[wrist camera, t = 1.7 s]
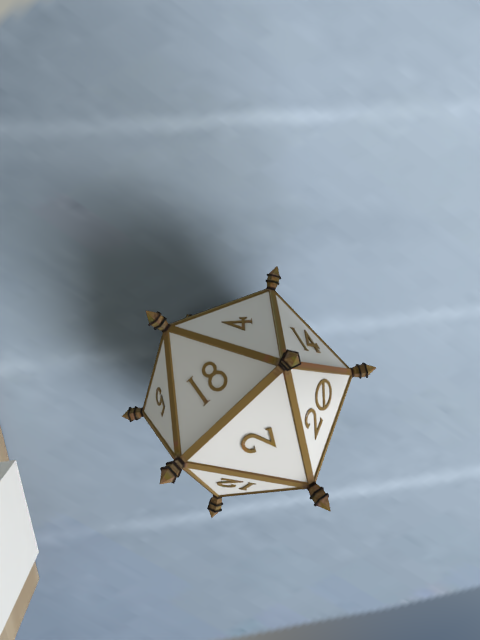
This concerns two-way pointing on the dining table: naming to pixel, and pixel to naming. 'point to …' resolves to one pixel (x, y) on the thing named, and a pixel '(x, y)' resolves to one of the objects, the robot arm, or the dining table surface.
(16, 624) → the birch base
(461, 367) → the dining table surface
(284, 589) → the dining table surface
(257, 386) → the game die
